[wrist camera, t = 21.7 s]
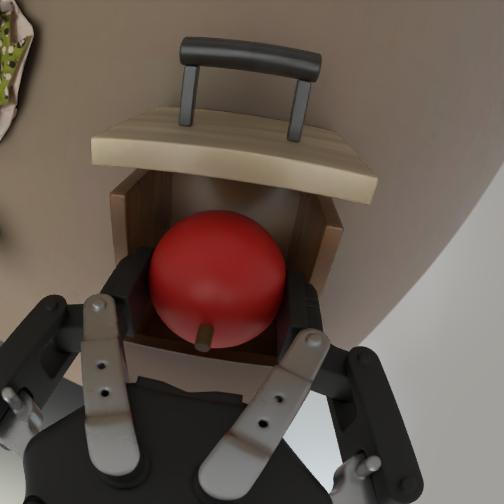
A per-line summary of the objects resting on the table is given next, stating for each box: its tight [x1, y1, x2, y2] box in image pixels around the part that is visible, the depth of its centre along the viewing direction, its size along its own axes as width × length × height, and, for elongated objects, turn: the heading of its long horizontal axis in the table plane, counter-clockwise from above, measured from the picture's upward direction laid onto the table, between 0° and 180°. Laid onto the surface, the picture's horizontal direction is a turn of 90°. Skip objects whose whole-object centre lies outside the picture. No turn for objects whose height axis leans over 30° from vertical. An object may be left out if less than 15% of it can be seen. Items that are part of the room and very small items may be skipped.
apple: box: [149, 210, 286, 352], centre depth 14 cm, size 6×6×7 cm
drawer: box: [91, 37, 378, 357], centre depth 17 cm, size 18×11×9 cm, turn 172°
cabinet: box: [123, 333, 310, 431], centre depth 24 cm, size 15×13×11 cm
